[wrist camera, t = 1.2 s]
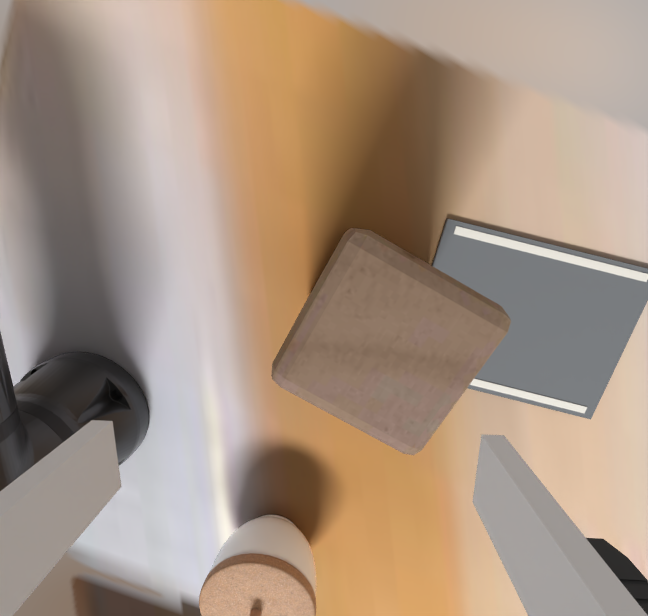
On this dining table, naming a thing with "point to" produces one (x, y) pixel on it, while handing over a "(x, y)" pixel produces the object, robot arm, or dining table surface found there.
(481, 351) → the wooden block
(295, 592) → the lidded bowl
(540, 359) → the mat
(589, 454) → the dining table surface
